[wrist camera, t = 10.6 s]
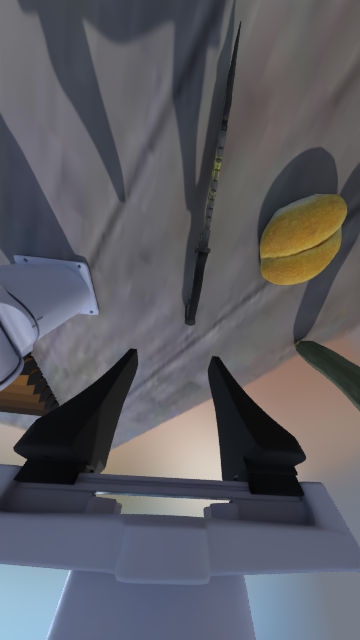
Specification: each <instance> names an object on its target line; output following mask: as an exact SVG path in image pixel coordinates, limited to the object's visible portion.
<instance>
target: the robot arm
mask: <svg viewBox="0 0 360 640" xmlns="http://www.w3.org/2000/svg"><path fill="white" fill-rule="evenodd" d="M26 259H27V260H28V261H27V260H26ZM14 260H15V262H16V264H9V265H1V266H0V391H2V390H3V389H4V388H6V387H7V386H8V385H10V384H11V383H12V382H13V381H14V380H15V379H16V378H17V377H18V376H19V374H20V373H21V371H22V369H23V367H24V360H23V358H22V357H24V356H25V355H26V354H28V353H29V352H31V351H32V350H33V343H34V342H35V341H37V340H38V339H40V338H41V337H43V336H44V335H46V334H47V333H49V332H50V331H52V330H53V329H55V328H56V327H58V326H59V325H61V324H62V323H64V322H65V321H67V320H68V319H70V318H71V317H73V316H74V315H76V314H77V313H82V314H92V315H97V314H99V309H98V305H97V301H96V297H95V293H94V289H93V285H92V280H91V276H90V272H89V268H88V265H87V264H86V263H83V262H74V261H66V260H57V259H49V258H40V257H31V256H23V255H15V256H14ZM79 265H80V266H81V268H80V267H79ZM92 311H93V312H92ZM137 367H138V355H137V349H129V350H128V351H127V352H126V354H125V355H124V356H123V357H122V358H121V359H120V360H119V361H118V362H117V363H116V364H115V365H114V366H113V367H112V368H111V369H110V370H108V371H107V372H106V373H105V374H104V375H103V376H102V377H100V378H99V379H98V380H97V381H96V382H94V383H93V384H92V385H90V386H89V387H88V388H86V389H85V390H84V391H82V392H81V393H79V394H78V395H76V396H75V397H73V398H72V399H70V400H69V401H67V402H66V403H64V404H63V405H61V406H59V407H58V408H56V409H54V410H52V411H51V412H49V413H47V414H45V415H44V416H42V417H40V418H38V419H37V420H36V421H35V422H34V423H33V424H32V425H31V426H30V428H29V429H28V430H27V431H26V432H25V434H24V435H23V436H22V438H21V439H20V440H19V441H18V442H17V444H16V445H15V446H14V447H13V448H14V451H15V452H16V453H17V454H19V455H21V456H23V457H24V458H26V459H27V461H26V462H25V464H24V465H23V467H22V466H18V465H5V464H0V564H8V565H20V566H32V567H43V568H54V569H66V570H70V571H69V575H68V577H67V580H66V583H65V586H64V589H63V592H62V594H61V597H60V600H59V603H58V606H57V609H56V612H55V615H54V618H53V621H52V623H51V626H50V629H49V632H48V635H47V638H46V640H256V638H255V632H254V627H253V622H252V617H251V611H250V606H249V600H248V595H247V589H246V583H245V578H244V575H257V574H285V573H311V572H312V573H313V572H360V547H359V545H358V543H357V541H356V540H355V538H354V536H353V535H352V533H351V531H350V530H349V528H348V526H347V524H346V523H345V521H344V519H343V518H342V516H341V514H340V512H339V510H338V509H337V507H336V505H335V504H334V502H333V500H332V498H331V497H330V495H329V494H328V492H327V490H326V488H325V487H324V485H323V484H322V483H321V482H298V480H297V478H296V475H298V474H297V471H296V469H295V467H294V466H296V465H298V464H299V463H302V462H303V461H305V460H306V455H305V454H304V452H303V450H302V449H301V446H300V445H299V443H298V441H297V440H296V438H295V437H294V436H293V435H291V434H290V433H289V432H288V431H287V430H285V429H284V428H283V427H282V426H280V425H279V424H278V423H277V422H276V421H274V420H273V419H272V418H271V417H270V416H269V415H267V414H266V413H265V412H264V411H263V410H262V409H261V408H260V407H259V406H258V405H257V404H256V403H255V402H254V401H253V400H252V399H251V398H250V397H249V396H248V395H247V394H246V393H245V391H244V390H243V389H242V388H241V387H240V385H239V384H238V383H237V382H236V380H235V379H234V378H233V376H232V375H231V374H230V372H229V371H228V370H227V368H226V367H225V365H224V364H223V362H222V361H221V359H220V358H219V357H216V356H212V359H211V362H210V365H209V368H208V378H209V384H210V388H211V393H212V397H213V402H214V406H215V412H216V419H217V427H218V436H219V446H220V457H221V469H222V480H223V481H217V480H200V479H182V478H181V479H180V478H164V477H146V476H128V475H110V474H100V473H101V472H102V471H103V470H104V469H105V467H106V463H107V459H108V455H109V451H110V448H111V444H112V440H113V437H114V433H115V430H116V426H117V423H118V420H119V416H120V413H121V410H122V407H123V404H124V401H125V398H126V396H127V393H128V391H129V389H130V386H131V384H132V381H133V379H134V376H135V374H136V370H137ZM95 494H110V495H131V496H152V497H172V498H190V499H210V500H230V501H229V503H213V504H210V506H209V507H205V508H204V518H203V517H189V516H172V515H147V514H120V513H121V508H122V505H121V504H120V503H117V502H116V499H110V498H102V497H96V495H95Z"/></svg>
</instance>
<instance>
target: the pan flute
mask: <svg viewBox="0 0 360 640" xmlns="http://www.w3.org/2000/svg"><path fill="white" fill-rule="evenodd" d="M30 355H31V353H30V352H29V353H28V354H26V355H25V356H24V357H22V358H23V360H24V367H23V369H22V371H21V373H20V374H19V376H18V377H17V378H16V379H15V380H14V381H13V382H12V383H11V384H10V385H8V386H7V387H6V388H4V389H3V390H2V391H0V412H9V413H18V414H27V415H36V416H44V415H45V414H47V413H49V412H51V411H52V410H54V409H56V408H58V407H59V404H58V402H57V401H55V399H56V398H55V396H54V395H53V394H51V392H52V391H51V389H50V387H47V386H46V385H47V382H46V380H45V378H41V377H42V375H43V374H42V373H41V371H40V369H36V368H35V367H36V366H37V363H36V362H35V360H34V358H28V357H29V356H30Z"/></svg>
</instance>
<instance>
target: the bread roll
mask: <svg viewBox="0 0 360 640" xmlns="http://www.w3.org/2000/svg"><path fill="white" fill-rule="evenodd" d="M346 215H347V204H346V203H345V201H344V200H343V198H342V197H340V195H338V194H318V193H317V194H314V195H311V196H308V197H306V198H303V199H300V200H298V201H295V202H293V203H291V204H288V205H287V206H285V207H284V208H280V209H279V210H277V211H276V212H275V213H274V215H273V217H272V218H271V220H270V222H269V223H268V225H267V226H266V228H265V230H264V232H263V234H262V237H261V242H260V256H261V265H260V270H261V274H262V276H263V277H264V278H265V279H266V280H268V281H270V282H272V283H275V284H278V285H292V284H297V283H301V282H304V281H307V280H309V279H311V278H313V277H314V276H316V275H317V274H319V273H320V272H321V271H322V270H323V269H324V268H325V267H326V266H327V265H328V264H329V263H330V261H331V260H332V259H333V258H334V256H335V255H336V253H337V252H338V250H339V248H340V245H341V239H342V233H341V225H342V223H343V221H344V220H345V217H346Z"/></svg>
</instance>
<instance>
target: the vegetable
mask: <svg viewBox="0 0 360 640" xmlns="http://www.w3.org/2000/svg"><path fill="white" fill-rule="evenodd" d="M295 347H296V350H297V352H298V353H299V355H300V356H301V357H302V358H303V359H305V361H306V362H307V363H309V364H310V365H311V366H312V367H313V368H315V369H316V370H317V371H319V372H320V373H322V374H323V375H324V376H326V377H327V378H328V379H329V380H330V381H331V382H332V383H334V384H335V385H336V386H337V387H338V388H339V389H340V390H341V391H342V392H343V393H344V394H345V395H346V396H347V397H348V398H349V400H350V401H351V402H352V403H353V404H354V405H355V406H356V408H357V409H358V410H359V411H360V367H359V366H357V365H355V364H354V363H352V362H350V361H348V360H347V359H345V358H344V357H342V356H340V355H339V354H338V353H336V352H334V351H332V350H330V349H328V348H327V347H325V346H322V345H320V344H318V343H316V342H313V341H301V340H300V341H299V342H298V344H296V345H295Z"/></svg>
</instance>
